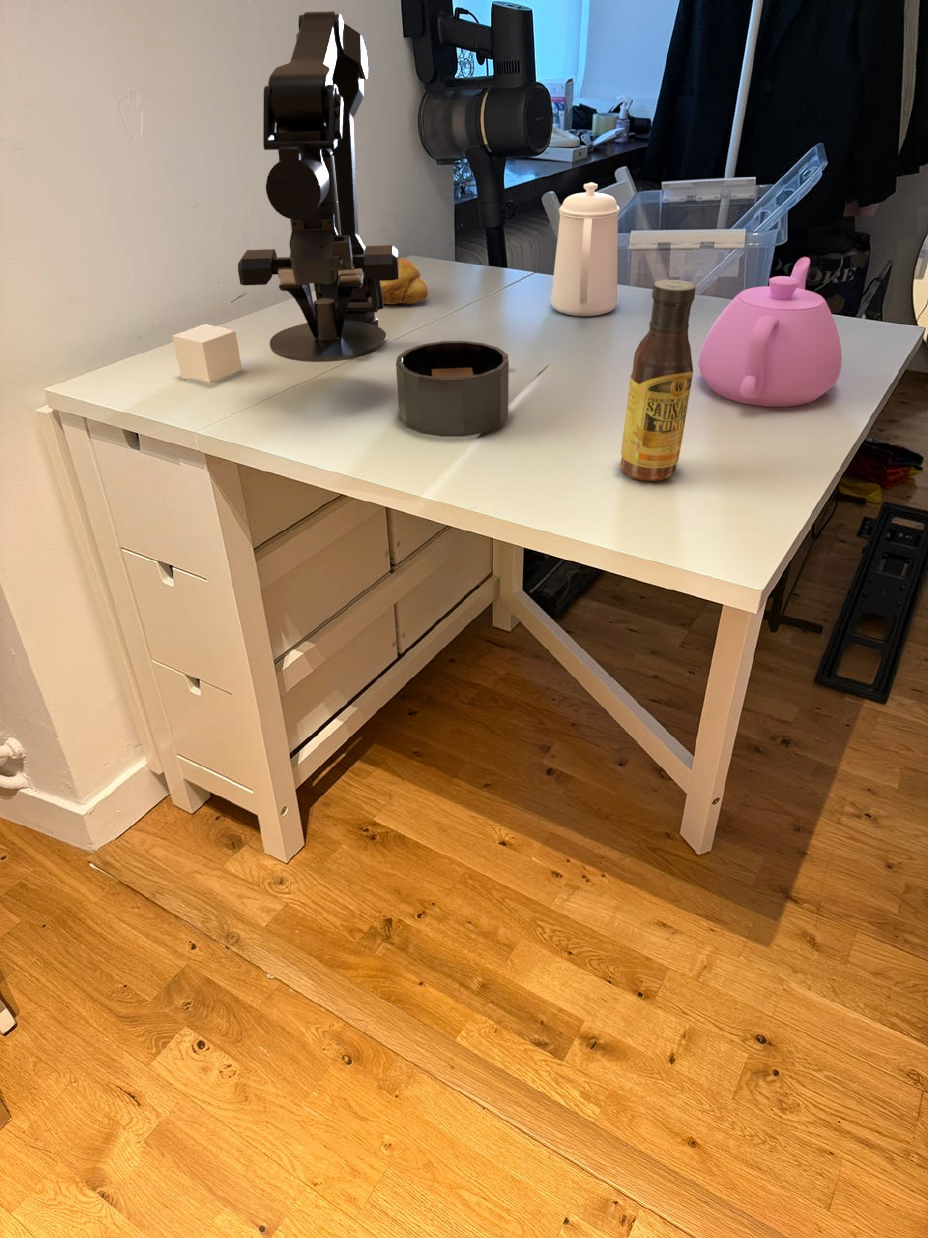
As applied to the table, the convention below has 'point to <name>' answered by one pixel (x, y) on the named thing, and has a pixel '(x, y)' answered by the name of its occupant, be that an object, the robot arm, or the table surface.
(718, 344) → the teapot
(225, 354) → the beige cube
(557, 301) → the coffeepot
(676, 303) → the sauce bottle
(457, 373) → the block
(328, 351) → the lid
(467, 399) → the pot
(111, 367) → the table surface
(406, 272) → the bread roll
